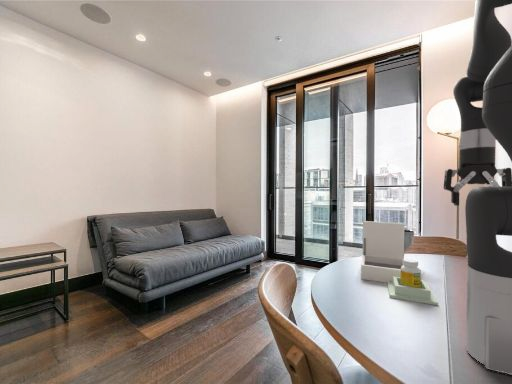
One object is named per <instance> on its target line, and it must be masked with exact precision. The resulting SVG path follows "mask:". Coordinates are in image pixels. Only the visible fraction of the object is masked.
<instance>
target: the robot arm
mask: <svg viewBox="0 0 512 384" xmlns="http://www.w3.org/2000/svg"><path fill="white" fill-rule="evenodd" d="M474 2H475V5H474V13H473V26H472V46H471V52H470V55H469V60H468V62H467V67H466V76H464V77H461V78H460V79H458V80H457V81H456V82H455V84H454V86H453V96H454V100H455V103H456V105H457V108H458V111H459V115H460V136H459V143H458V149H459V150H458V151H459V152H458V168H457V169H452V168H448V169H446V170H444V178H443V179H444V180H443V189H444V190H445V191H449V192H450V193H451V194H450V195H451V196H450V199H451V201H450V202H451V203H452V204H453V206H456V207H457V206H460V192H459V191H460V190H461V189H462V188H463V187H465V186H466V185H486V186H478V187H474V188H472V189H471V190H469V192H468V194H467V196H466V200H465V207H464V210H465V228H466V230H465V231H466V233H465V234H466V252H467V279H466V280H467V282H466V283H467V285H466V287H467V288H466V289H467V290H466V327H465V329H466V330H465V331H466V333H465V334H466V335H465V336H466V338H465V339H466V340H465V343H466V346H465V347H466V352H467V351H468V352H467V354H468V353H469V354H470V355H471V356H472V357H474V358H475V359H476V360H477V361H476V360H475V359H474V360H475V361H476V362H478V361H479V362H480V363H479V362H478V363H479V364H481V363H482V364H484V365H485V366H486V367H487V368H490V369H493V370H499V371H504V372H507V373H512V251H510V250H508V249H505V248H503V247H501V246H500V245H499V244H498V240H497V236H508V237H512V168H511V167H504V168H497V167H496V145H497V143H498V144H499V145H500V146H501V147H502V148H503V150H504V151H505V153H506V154H507V156H508V157H509V159H510V161H511V163H512V37H511V34H510V33H509V31H508V29H507V28H506V27H505V26H504V25H503V24H502V23H501V22H500V21H499V19H498V18H497V16H496V12H495V9H497V8H503V7H505V6H508V5H512V0H475V1H474ZM481 101H482V104H481V105H482V106H481V107H479V106H475V105H473V104H472V103H474V102H475V103H476V102H481ZM496 142H497V143H496ZM497 174H498V176H499V177H501V185H500V184H499V183H498V181H497V180H496V179H495V178H494V177H495V175H497ZM455 175H457V176H458V177H459V178H460V179H459V180H458V181H457V182H456V183H455V185H454V186H452V181H453V180H452V179H453V178H454V177H455ZM469 354H468V355H469ZM470 355H469V356H470ZM471 356H470V357H471ZM472 357H471V358H472ZM482 364H481V365H482ZM484 365H483V366H484ZM485 366H484V367H485Z"/></svg>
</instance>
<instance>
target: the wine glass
mask: <svg viewBox="0 0 512 384" xmlns="http://www.w3.org/2000/svg"><path fill="white" fill-rule="evenodd" d="M414 239H415V231H414V230H411V229H405V228H404V254H405V253H406V252H407V250H408V249H409V248H410V247H411V246H412V245H413V243H414Z"/></svg>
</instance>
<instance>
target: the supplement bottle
mask: <svg viewBox="0 0 512 384" xmlns="http://www.w3.org/2000/svg"><path fill="white" fill-rule="evenodd" d="M403 264H404V265H403V266H402V267H401V285H402V286H408V287H415V288H421V280H422V279H421V276H422V275H421V273H422V272H421V269H420V268H419V261H418V260H417V259H413V258H404V259H403Z"/></svg>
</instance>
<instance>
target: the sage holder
mask: <svg viewBox="0 0 512 384" xmlns="http://www.w3.org/2000/svg"><path fill="white" fill-rule="evenodd" d="M387 288H388V295H389V298H391V299H397V300H403V301H409V302H415V303H420V304H427V305H432V306H439V301H438V300H437V298H436V297H435V295H434V293H433V291H432V290H431V288H430V287H429V285H428V283H427V281H426V280H424V279H421V288H415V287H408V286H402V285H401V277H395V276H393V282H389V281H388V283H387Z"/></svg>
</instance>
